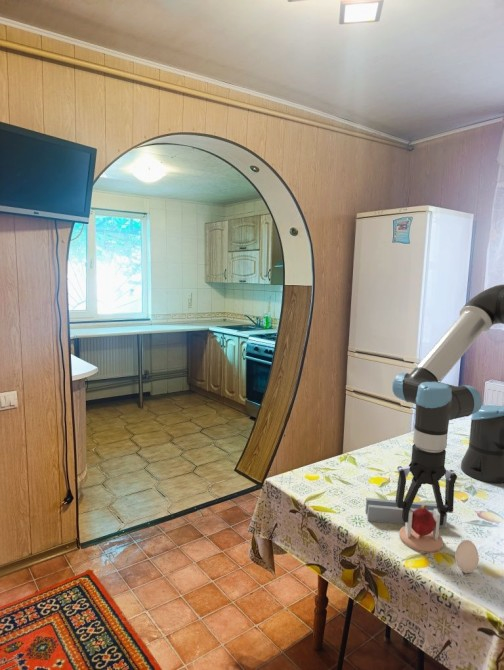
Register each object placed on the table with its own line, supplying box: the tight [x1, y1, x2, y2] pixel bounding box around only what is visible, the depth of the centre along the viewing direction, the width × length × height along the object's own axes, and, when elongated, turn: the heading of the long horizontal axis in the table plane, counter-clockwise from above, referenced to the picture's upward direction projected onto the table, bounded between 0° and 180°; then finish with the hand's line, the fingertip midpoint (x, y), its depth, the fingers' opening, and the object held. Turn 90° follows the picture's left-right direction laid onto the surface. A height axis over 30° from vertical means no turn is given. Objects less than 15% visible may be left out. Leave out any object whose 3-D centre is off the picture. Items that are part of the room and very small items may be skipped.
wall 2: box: [366, 505, 448, 529], centre depth 114 cm, size 20×1×4 cm, turn 83°
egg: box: [454, 539, 480, 574], centre depth 96 cm, size 5×5×7 cm
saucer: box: [399, 525, 444, 554], centre depth 108 cm, size 10×10×1 cm
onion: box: [411, 505, 435, 536], centre depth 107 cm, size 6×6×8 cm
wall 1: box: [365, 497, 438, 515], centre depth 118 cm, size 20×1×4 cm, turn 83°
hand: (421, 534), depth 107 cm, fingers closed on onion, 6 cm apart
